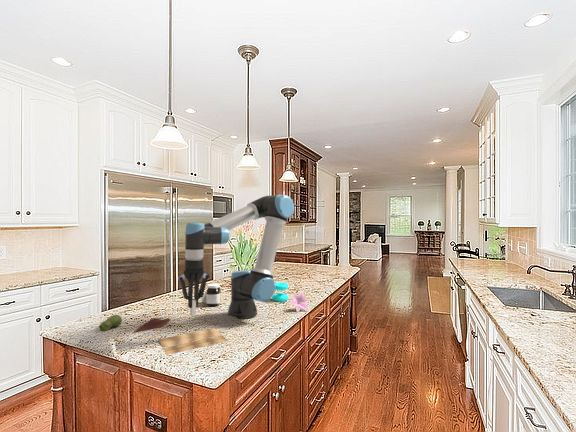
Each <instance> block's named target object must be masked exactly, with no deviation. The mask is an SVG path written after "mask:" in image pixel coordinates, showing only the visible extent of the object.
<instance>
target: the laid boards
mask: <svg viewBox="0 0 576 432" xmlns="http://www.w3.org/2000/svg"><path fill="white" fill-rule="evenodd" d="M228 341H229V339H227V338H226V337H225V336H223V334H221V335H219V336H215V337H210V338H205V339H201V340H196V341H191V342H187V343H182V344H178V345H173V346H168V347H164V348H163V347H162V349H163V350H164V352H165V353H166V355H168V356H169V355H172V354H176V353H177V354H178V353H180V352H182V353H183V352H185V351H190V350H195V349H198V348H203V347H206V346H207V347H208V346H212V345H216V344H217V345H218V344H220V343H221V344H222V343H224V342H226V343H227V342H228Z"/></svg>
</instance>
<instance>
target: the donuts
mask: <svg viewBox="0 0 576 432" xmlns="http://www.w3.org/2000/svg"><path fill="white" fill-rule="evenodd" d="M275 286H276V288H275V291H280V292H277V293H274V294H273V296H272V297H271V298H272V300H273V301H275V302H286V301H288V300H289V295H288V294H286V293H283V291H285V290H287V289H289V284H288V283H287V282H278V281H277V282H275ZM281 291H282V292H281Z"/></svg>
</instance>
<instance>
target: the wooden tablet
mask: <svg viewBox="0 0 576 432" xmlns="http://www.w3.org/2000/svg"><path fill="white" fill-rule="evenodd" d="M170 321H171V318H163V319H161V318H159V317H158V318H157V317H155V318H151V319H149V320H148V321H146V322H145V323H143V324H142V325H141V326H139V327H138V328H137V329H136V330H134V331H133V332H132V334H134V333H135V334H136V333H139V332H140V333H141V332H146V331H151V330H157V329H160V328H162V327H163V326H164V325H166V324H167V323H169V322H170Z"/></svg>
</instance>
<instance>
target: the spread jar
mask: <svg viewBox="0 0 576 432" xmlns="http://www.w3.org/2000/svg"><path fill="white" fill-rule="evenodd" d="M220 285H221V284H220V283H213V282H212V283H208V284H207V288H206V291H204V294H203V297H202V298H201V302H202V303H204V304H206V306H207V307H217V306H218V307H219V306H220V305H221V303H222V289H221V288H220V287H221V286H220Z"/></svg>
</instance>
